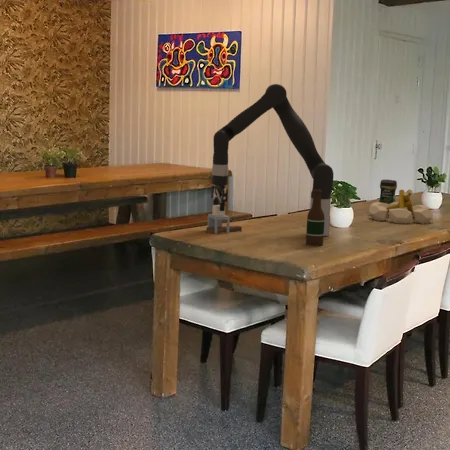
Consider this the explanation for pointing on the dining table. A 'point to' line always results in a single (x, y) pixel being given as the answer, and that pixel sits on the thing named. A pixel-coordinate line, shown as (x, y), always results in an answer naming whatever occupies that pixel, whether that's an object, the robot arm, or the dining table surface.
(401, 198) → the campfire
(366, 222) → the dining table surface
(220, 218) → the tunnel
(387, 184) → the coffee jar
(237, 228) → the bar
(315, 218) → the beer bottle
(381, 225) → the dining table surface
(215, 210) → the block
